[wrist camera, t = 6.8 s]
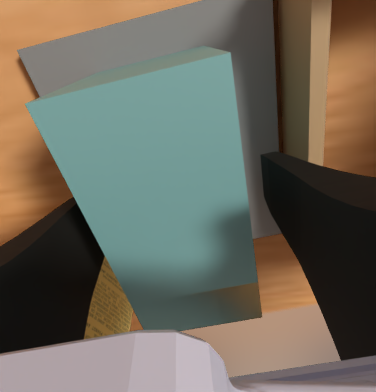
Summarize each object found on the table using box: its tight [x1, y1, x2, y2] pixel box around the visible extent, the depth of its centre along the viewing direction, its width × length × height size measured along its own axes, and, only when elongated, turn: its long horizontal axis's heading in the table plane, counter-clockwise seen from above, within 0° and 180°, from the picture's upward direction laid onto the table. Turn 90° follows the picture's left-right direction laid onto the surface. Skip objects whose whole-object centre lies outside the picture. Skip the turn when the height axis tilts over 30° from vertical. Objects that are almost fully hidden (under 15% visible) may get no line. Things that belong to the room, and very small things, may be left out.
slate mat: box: [17, 0, 282, 239], centre depth 13 cm, size 10×12×1 cm
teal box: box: [25, 46, 262, 331], centre depth 10 cm, size 4×9×6 cm, turn 12°
